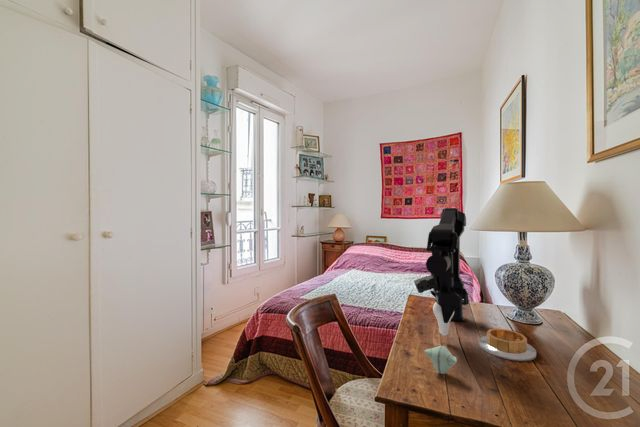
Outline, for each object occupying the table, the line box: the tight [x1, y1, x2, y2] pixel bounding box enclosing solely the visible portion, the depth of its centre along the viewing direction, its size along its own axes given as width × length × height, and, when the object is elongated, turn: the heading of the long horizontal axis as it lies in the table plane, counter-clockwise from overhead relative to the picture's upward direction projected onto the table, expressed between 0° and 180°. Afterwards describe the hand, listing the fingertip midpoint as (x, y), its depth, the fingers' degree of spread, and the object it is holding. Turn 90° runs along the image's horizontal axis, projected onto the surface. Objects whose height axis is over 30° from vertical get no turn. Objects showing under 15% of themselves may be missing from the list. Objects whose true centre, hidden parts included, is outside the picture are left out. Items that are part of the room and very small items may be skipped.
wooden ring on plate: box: [478, 328, 537, 362], centre depth 84 cm, size 14×14×4 cm
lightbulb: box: [432, 301, 454, 337], centre depth 88 cm, size 6×6×11 cm
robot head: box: [423, 345, 458, 375], centre depth 72 cm, size 8×4×7 cm, turn 47°
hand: (443, 319), depth 89 cm, fingers closed on lightbulb, 6 cm apart
